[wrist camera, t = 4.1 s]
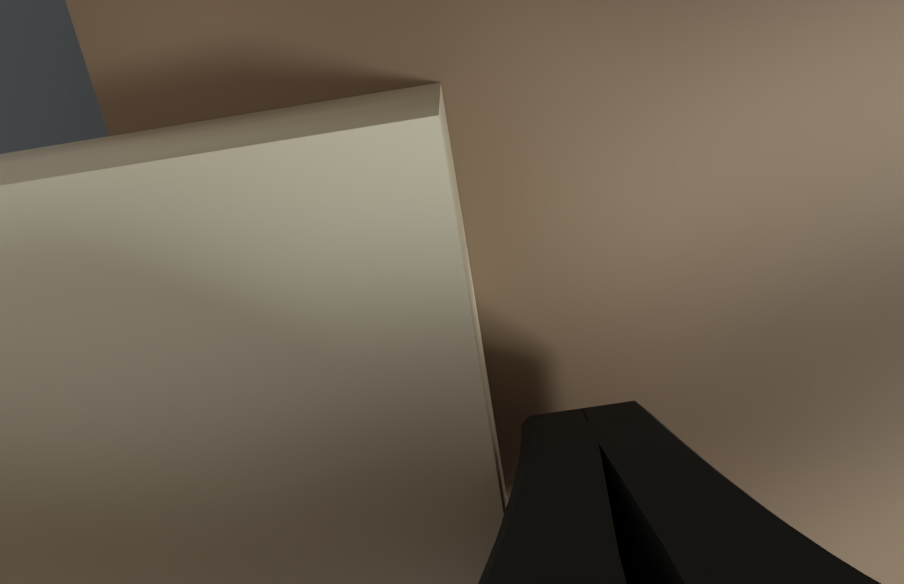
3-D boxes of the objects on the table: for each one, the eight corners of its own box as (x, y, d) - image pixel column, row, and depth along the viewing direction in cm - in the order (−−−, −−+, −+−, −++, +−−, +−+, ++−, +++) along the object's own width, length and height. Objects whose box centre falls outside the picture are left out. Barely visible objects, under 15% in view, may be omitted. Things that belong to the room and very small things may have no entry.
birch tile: (541, 711, 12) (557, 850, 10) (140, 758, 12) (84, 903, 10) (440, 81, 8) (439, 115, 7) (-109, 171, 9) (-259, 227, 7)
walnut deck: (857, 588, 16) (982, 774, 12) (363, 656, 17) (341, 855, 13) (880, -221, 11) (1107, -316, 7) (162, -89, 11) (27, -115, 8)
